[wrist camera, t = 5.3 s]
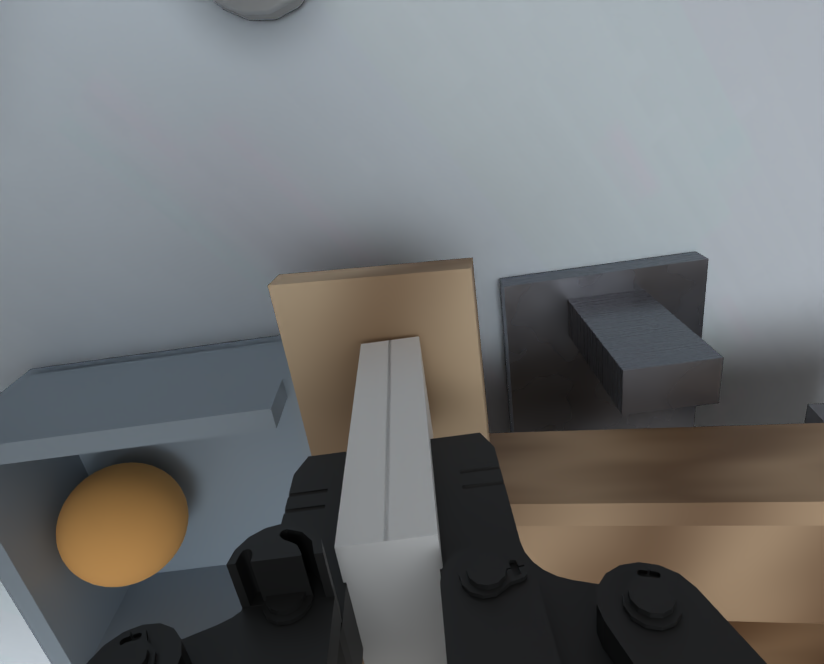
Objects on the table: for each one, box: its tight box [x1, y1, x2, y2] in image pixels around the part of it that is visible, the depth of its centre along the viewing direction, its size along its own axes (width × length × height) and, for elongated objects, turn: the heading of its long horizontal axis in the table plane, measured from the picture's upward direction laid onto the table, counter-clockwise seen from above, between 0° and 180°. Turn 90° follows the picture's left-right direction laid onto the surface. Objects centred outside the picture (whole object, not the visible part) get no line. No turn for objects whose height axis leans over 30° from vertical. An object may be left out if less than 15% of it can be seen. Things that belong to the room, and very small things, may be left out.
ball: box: [56, 462, 189, 587], centre depth 24 cm, size 5×5×5 cm
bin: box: [0, 335, 311, 664], centre depth 24 cm, size 13×13×6 cm
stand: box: [500, 252, 723, 433], centre depth 23 cm, size 8×15×7 cm, turn 8°
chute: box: [268, 258, 824, 664], centre depth 18 cm, size 22×16×6 cm
